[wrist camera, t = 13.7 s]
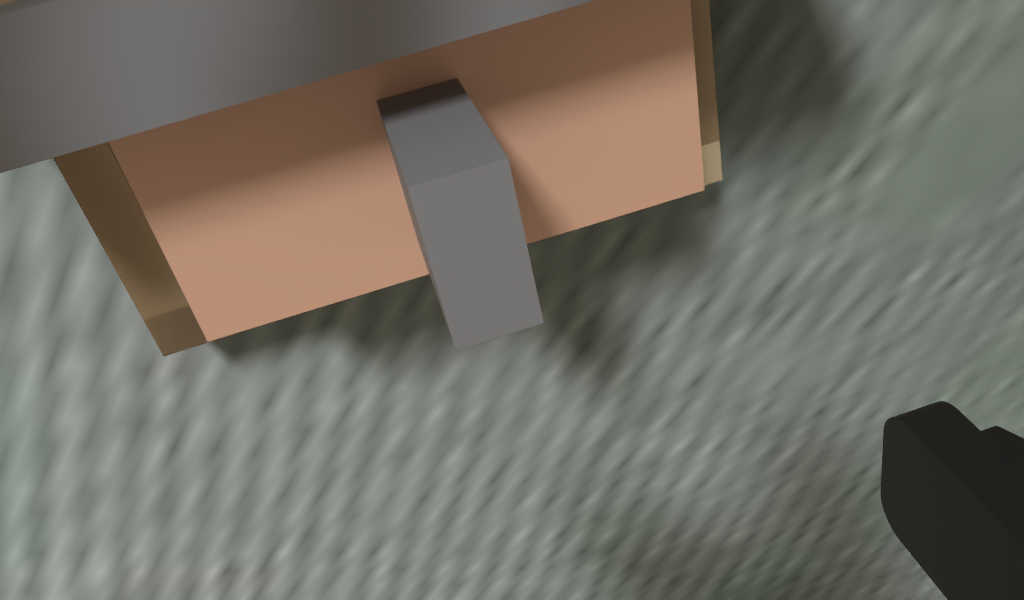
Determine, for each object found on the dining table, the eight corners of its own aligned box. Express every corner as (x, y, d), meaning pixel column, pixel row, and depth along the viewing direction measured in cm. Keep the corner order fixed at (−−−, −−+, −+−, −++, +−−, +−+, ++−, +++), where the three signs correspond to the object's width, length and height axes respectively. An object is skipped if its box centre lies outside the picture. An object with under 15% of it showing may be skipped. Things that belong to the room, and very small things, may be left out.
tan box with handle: (583, -83, 27) (795, 23, 17) (607, 96, 31) (797, 280, 20) (139, 36, 26) (63, 233, 15) (216, 209, 29) (198, 470, 19)
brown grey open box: (720, -250, 26) (975, -252, 17) (742, 130, 33) (930, 274, 24) (-105, -31, 23) (-326, 105, 14) (106, 327, 30) (47, 570, 21)
